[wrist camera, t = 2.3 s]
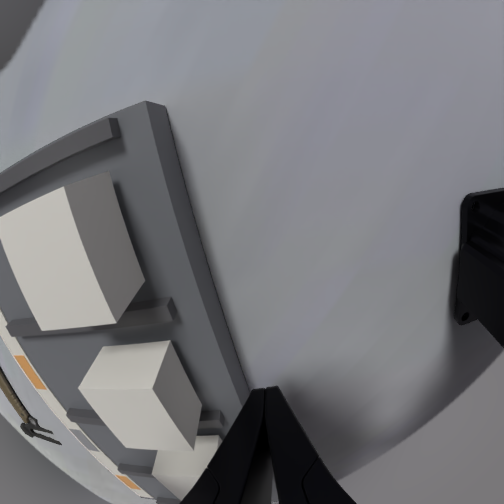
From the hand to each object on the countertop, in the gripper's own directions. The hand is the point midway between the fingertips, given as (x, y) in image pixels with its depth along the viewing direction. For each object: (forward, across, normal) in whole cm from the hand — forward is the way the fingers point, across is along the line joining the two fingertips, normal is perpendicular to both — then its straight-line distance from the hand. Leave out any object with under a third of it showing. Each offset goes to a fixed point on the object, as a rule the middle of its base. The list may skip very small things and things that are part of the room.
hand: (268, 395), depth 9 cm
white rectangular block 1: (+1, +5, -6) cm, 8 cm away
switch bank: (+4, +8, +3) cm, 9 cm away
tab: (+1, +5, 0) cm, 5 cm away
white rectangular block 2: (+1, +5, +6) cm, 8 cm away
